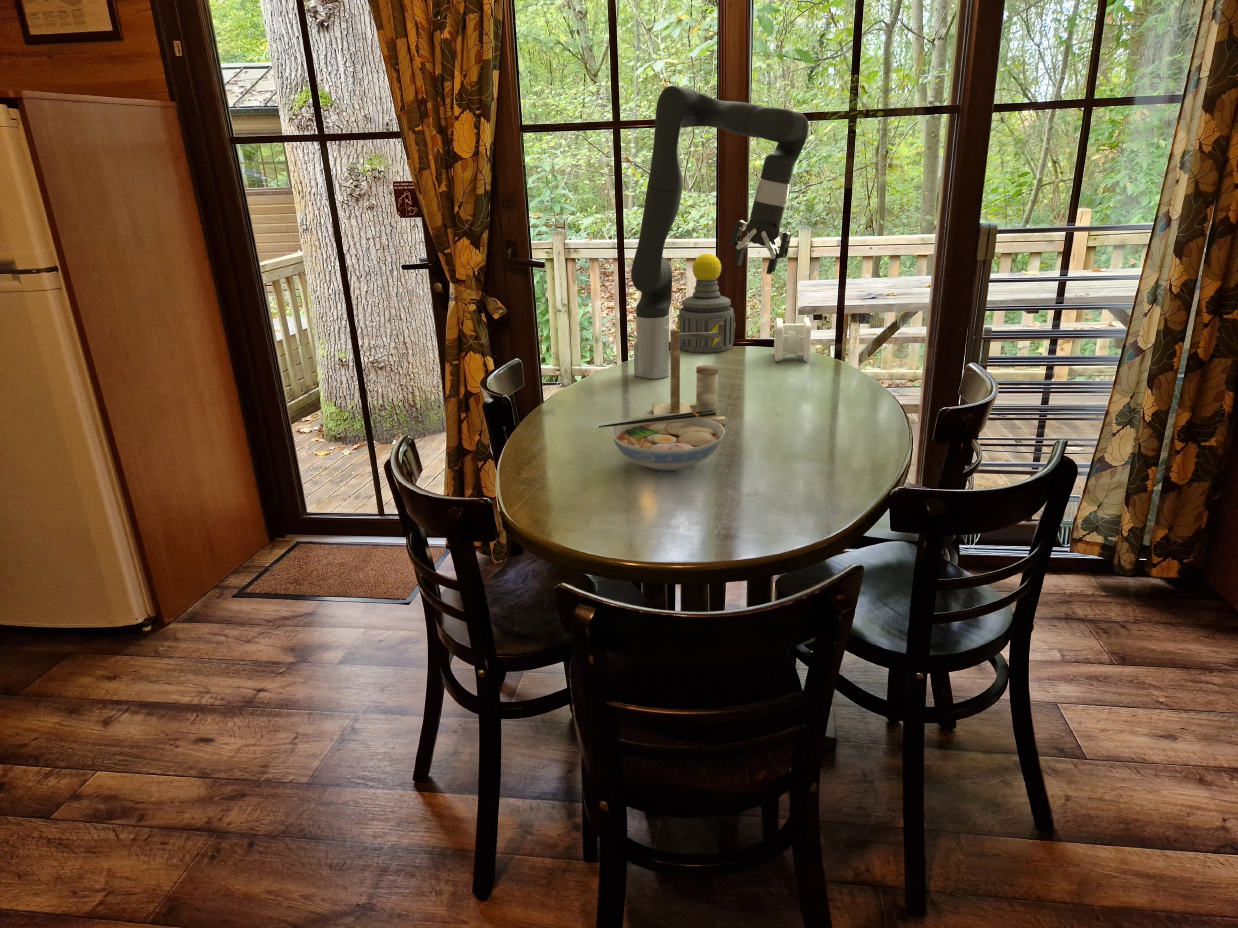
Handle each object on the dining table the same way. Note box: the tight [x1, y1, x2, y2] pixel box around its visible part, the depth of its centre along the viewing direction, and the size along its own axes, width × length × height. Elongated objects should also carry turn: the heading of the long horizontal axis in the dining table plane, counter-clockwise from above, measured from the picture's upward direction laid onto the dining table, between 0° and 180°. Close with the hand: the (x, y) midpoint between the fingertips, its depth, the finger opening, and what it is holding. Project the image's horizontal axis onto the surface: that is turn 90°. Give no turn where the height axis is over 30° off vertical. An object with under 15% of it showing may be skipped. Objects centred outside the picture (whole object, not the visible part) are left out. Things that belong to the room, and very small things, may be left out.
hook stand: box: [651, 323, 727, 426], centre depth 183 cm, size 16×14×22 cm
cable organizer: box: [773, 317, 812, 363], centre depth 239 cm, size 15×11×12 cm
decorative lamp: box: [675, 253, 737, 354], centre depth 253 cm, size 19×19×30 cm
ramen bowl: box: [598, 409, 726, 473], centre depth 156 cm, size 25×23×8 cm
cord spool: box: [695, 364, 720, 417], centre depth 185 cm, size 5×5×12 cm
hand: (753, 269), depth 193 cm, fingers open, 8 cm apart
